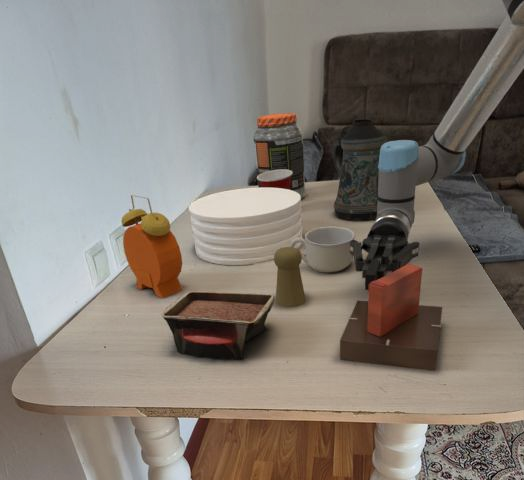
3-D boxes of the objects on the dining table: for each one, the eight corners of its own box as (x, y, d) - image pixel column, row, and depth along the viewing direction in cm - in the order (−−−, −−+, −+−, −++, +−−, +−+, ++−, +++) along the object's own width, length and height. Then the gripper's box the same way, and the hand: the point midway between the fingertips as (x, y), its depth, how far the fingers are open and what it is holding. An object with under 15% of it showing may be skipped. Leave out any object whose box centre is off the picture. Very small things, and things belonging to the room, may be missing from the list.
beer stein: (379, 225, 131) (383, 124, 118) (315, 220, 140) (312, 126, 127) (399, 209, 143) (405, 115, 130) (338, 204, 152) (338, 117, 139)
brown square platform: (440, 327, 82) (443, 305, 79) (435, 374, 70) (438, 349, 68) (356, 320, 86) (356, 299, 84) (339, 362, 75) (339, 339, 73)
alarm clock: (189, 290, 104) (172, 196, 94) (165, 300, 101) (145, 204, 91) (154, 277, 113) (135, 189, 103) (131, 286, 109) (110, 196, 99)
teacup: (355, 259, 111) (356, 225, 107) (352, 278, 102) (352, 242, 98) (296, 259, 114) (294, 226, 110) (288, 278, 106) (285, 242, 101)
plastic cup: (252, 215, 150) (248, 175, 144) (277, 206, 156) (274, 168, 150) (277, 220, 143) (274, 178, 137) (302, 211, 149) (300, 171, 143)
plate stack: (175, 260, 121) (166, 214, 116) (228, 226, 143) (223, 186, 137) (276, 269, 110) (272, 220, 104) (318, 231, 131) (316, 188, 125)
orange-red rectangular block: (405, 309, 80) (408, 262, 75) (418, 313, 78) (422, 265, 74) (367, 331, 74) (368, 282, 70) (380, 337, 73) (382, 286, 68)
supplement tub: (308, 192, 169) (305, 110, 156) (301, 204, 156) (297, 116, 143) (264, 193, 173) (258, 114, 160) (254, 205, 160) (246, 120, 147)
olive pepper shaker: (278, 296, 98) (274, 243, 92) (307, 296, 97) (305, 243, 91) (272, 309, 93) (268, 255, 87) (303, 309, 92) (301, 254, 86)
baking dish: (206, 326, 93) (189, 280, 88) (291, 324, 86) (277, 273, 80) (168, 371, 83) (146, 322, 78) (261, 373, 75) (243, 318, 70)
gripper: (421, 254, 96) (410, 306, 77) (355, 252, 100) (330, 301, 81) (424, 216, 92) (413, 262, 73) (356, 216, 96) (329, 258, 77)
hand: (369, 282), depth 77 cm, fingers closed
